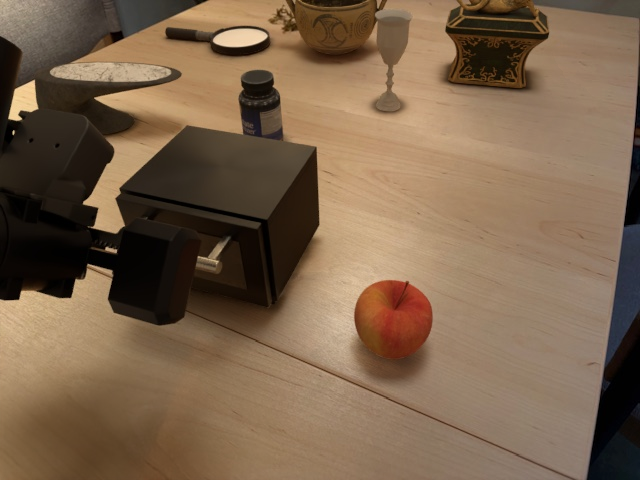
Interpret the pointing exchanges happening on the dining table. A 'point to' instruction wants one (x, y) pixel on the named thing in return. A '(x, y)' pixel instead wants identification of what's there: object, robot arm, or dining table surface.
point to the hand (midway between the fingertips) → (138, 254)
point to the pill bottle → (260, 105)
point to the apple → (393, 318)
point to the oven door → (214, 248)
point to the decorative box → (494, 41)
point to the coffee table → (96, 89)
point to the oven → (241, 188)
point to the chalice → (391, 49)
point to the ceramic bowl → (335, 23)
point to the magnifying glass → (227, 38)
